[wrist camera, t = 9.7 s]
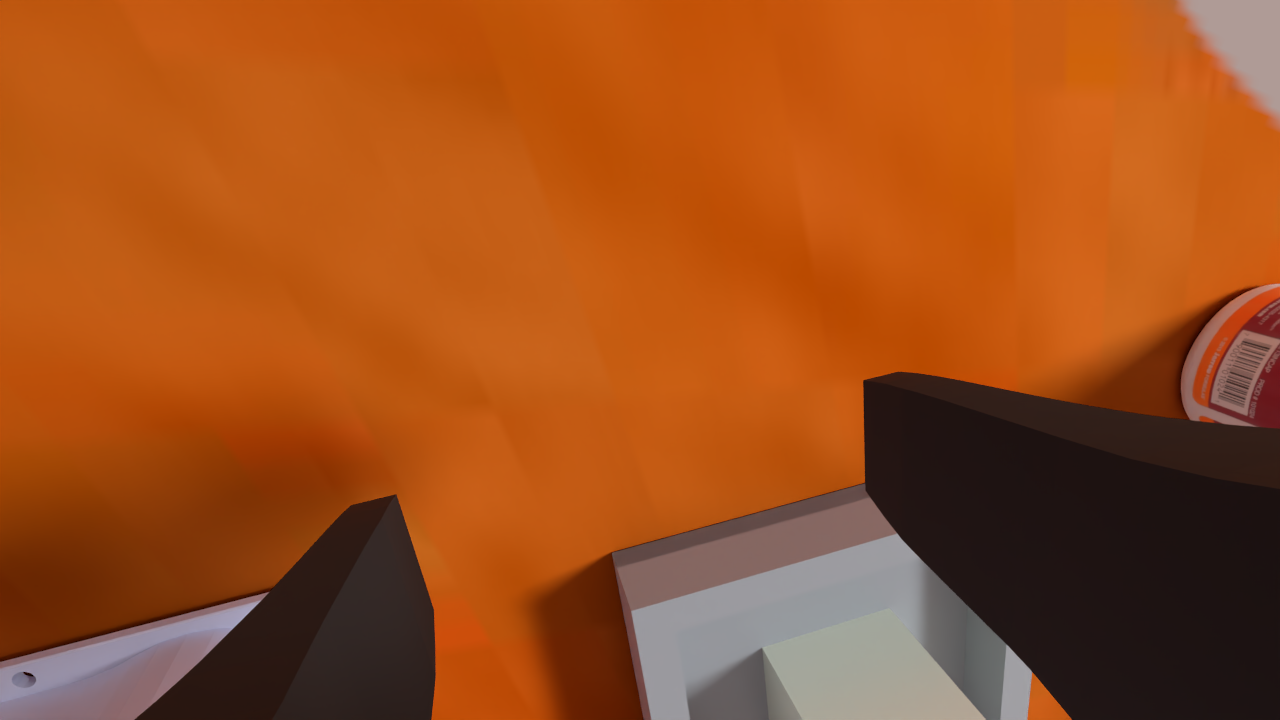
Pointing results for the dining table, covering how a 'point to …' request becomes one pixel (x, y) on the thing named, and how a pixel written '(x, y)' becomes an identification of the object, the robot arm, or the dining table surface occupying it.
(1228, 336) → the pill bottle
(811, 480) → the dining table surface
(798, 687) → the block
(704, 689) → the tray
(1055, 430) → the robot arm
